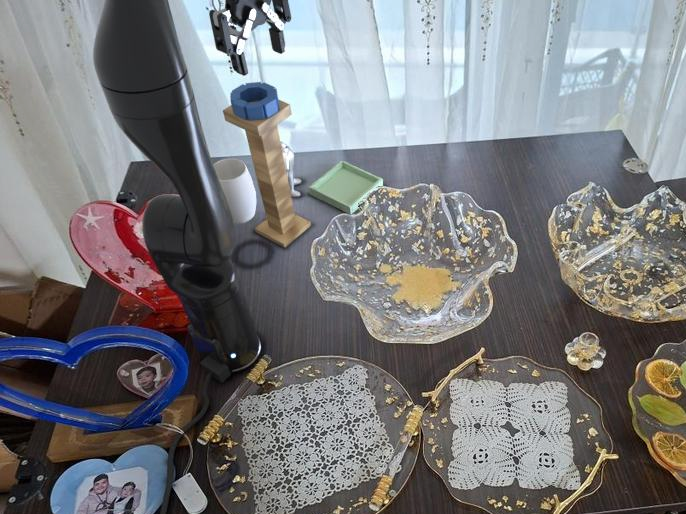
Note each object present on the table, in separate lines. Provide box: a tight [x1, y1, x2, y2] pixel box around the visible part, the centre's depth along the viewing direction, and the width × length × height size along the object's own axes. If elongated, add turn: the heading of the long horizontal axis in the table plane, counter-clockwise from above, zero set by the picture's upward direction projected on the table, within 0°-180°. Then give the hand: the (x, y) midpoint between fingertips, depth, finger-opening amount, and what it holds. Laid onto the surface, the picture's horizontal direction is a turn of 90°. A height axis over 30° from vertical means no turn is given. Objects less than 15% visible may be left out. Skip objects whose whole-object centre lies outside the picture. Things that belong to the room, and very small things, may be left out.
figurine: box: [280, 141, 302, 198], centre depth 129 cm, size 7×4×12 cm, turn 4°
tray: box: [308, 160, 384, 215], centre depth 133 cm, size 11×11×2 cm
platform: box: [222, 99, 312, 249], centre depth 115 cm, size 8×8×28 cm
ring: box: [229, 81, 280, 121], centre depth 103 cm, size 8×8×2 cm
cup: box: [213, 157, 257, 224], centre depth 113 cm, size 7×7×21 cm
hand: (261, 62), depth 100 cm, fingers open, 8 cm apart
